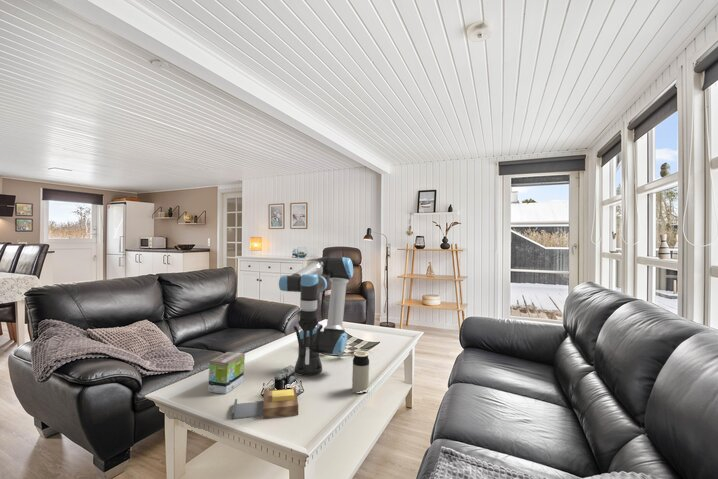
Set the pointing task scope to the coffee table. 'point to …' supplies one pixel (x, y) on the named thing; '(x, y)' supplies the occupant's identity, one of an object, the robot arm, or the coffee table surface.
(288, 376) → the camera
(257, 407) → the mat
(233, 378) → the tea box
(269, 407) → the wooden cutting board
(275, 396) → the yellow sticky note pad
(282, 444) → the coffee table surface
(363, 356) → the travel mug
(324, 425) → the coffee table surface
